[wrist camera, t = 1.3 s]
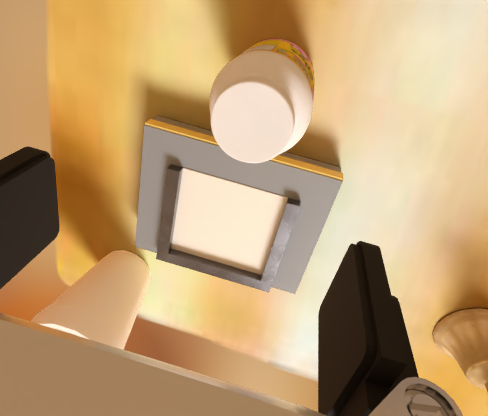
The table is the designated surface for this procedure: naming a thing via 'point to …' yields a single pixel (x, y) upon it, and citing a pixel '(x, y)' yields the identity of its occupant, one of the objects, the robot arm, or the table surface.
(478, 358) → the hand bell
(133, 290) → the foam cup
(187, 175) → the loading dock
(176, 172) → the bay rails
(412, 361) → the robot arm
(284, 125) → the supplement bottle
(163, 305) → the table surface
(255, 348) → the table surface
